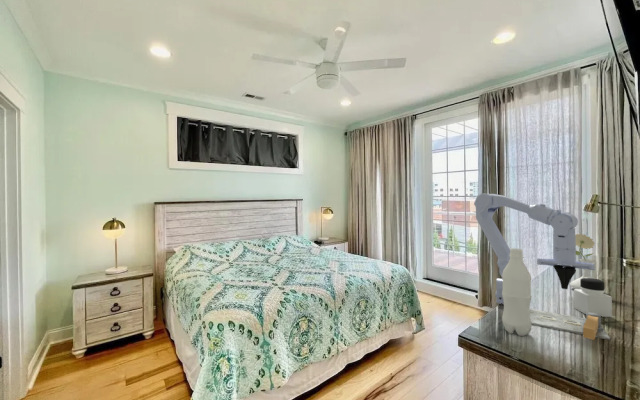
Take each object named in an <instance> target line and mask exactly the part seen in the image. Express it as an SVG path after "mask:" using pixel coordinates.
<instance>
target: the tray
mask: <svg viewBox="0 0 640 400" xmlns="http://www.w3.org/2000/svg"><path fill="white" fill-rule="evenodd" d="M529 311H530V319H531V326H538V327H542V328H543V327H544V328H548V329H552V330H553V329H554V330H558V331H562V332H568V333H572V334H577V335H582V336H583V327H584V324H585V322H586V318H585V317H579V316H574V315H569V314H563V313H556V312H551V311H545V310H539V309H533V308H530V309H529ZM595 338H597V339H604V340H608V341H610V340H611V337H610V336H609V334H608V333H607V332H606V331H605V327H604V326H602V325H601V327H598V329H597V333H596V336H595Z"/></svg>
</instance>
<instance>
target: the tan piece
mask: <svg viewBox="0 0 640 400" xmlns="http://www.w3.org/2000/svg"><path fill="white" fill-rule="evenodd" d="M585 317H586V322H585V324H584V327H583V335H582V337H583V338H586V339H588V340H591V341H592V340H593V341H595V339H596V337H595V336H596V333H597V329H598V327H601V326H602V317H601V315H599V314H597V313H592V312H587V313H586V314H585Z"/></svg>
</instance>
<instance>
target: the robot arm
mask: <svg viewBox="0 0 640 400" xmlns="http://www.w3.org/2000/svg"><path fill="white" fill-rule="evenodd" d="M473 205H474V206H475V219H476V221H477V223H478V225H479V227H480V228H481V229H482V232H483V234H484V235H485V237H486V239H487V241H488V243H489V244H490V246H491V248H492V249H493V251H494V253H495V256H496V257H497V262H496V264H497V266H498V269H499V270H498V271H499V275H500V276H501V278H496V288H495V289H496V291H495V298H496V300H495V301H496V304H501V303H502V304H501V305H504V303H503V302H504V300H503V296H502V291H503V276H502V273H503V270H504V269H505V267H506V266H507V264H508V263H509V261H510V257H509V255H510V249H511V248H510V247H509V244H508V243H507V241H506V239H505V238H504V237H503V234H502V233H501V231H500V229H499V227H498V226H497V224H496V223H495V221H494V219H493V216H494V214H495V213H496V212H497V210H498V209H500V207H506V208H509V209H512V210H516V211H519V212H522V213H524V214H527V216H528V217H529V219H530V220H531V219H532V220H534V221H537V222H540V223H543V224H546V225H548V226H551V227H552V229H553V237H552V239H553V240H552V242H553V243H552V244H553V249H552V252H553V253H552V254H553V255H552V256H553V257H552V258H540V257H537V258H536V264H537V265H538V266H541V265H542V266H551V267H552V266H553V269H554V271H555V273H556V274H557V277H558V279H559V283H560V288H561V289H563V290H568V289H569V286H570V285H569V284H570V283H571V280H572V278H573V277H574V275H575V274H576V273H577V269H578V270H579V269H581V270H583V269H589V270H590V271H595V264H594V262H593V263H584V262H581V261H577V260H576V257H577V255H576V251H577V245H576V236H575V235H576V227H577V226H578V223H579V221H578V218H577V217H576V215H574V214H573V213H570V212H562V210H561V209H558V208H557V209H555V208H551V207H547V205H546V204H544V203H540V204H539V203H536V204H532V205H531V204H527V203H525V202H522V201H520V200H517V199H514V198H511V197H509V196H507V195H506V196H505V195H503V194H498V193H480V194H479V195H477V196H476V198H475V200H474V204H473ZM526 268H527V269H528V267H527V266H526Z"/></svg>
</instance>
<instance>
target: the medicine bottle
mask: <svg viewBox="0 0 640 400" xmlns="http://www.w3.org/2000/svg"><path fill="white" fill-rule="evenodd" d="M580 288H581V289H574V288H573V308H574V309H575V310H577V311H578V312H581V313H582V314H584V315H586V313H587V312H592V313H597V314H599V315H601V316H602V317H601V318H612V317H613V297H612V296H610V295H608V294H606V293H605V292H604V288H605V282H604V281H603V280H601V279H598V278H594V277H592V278H581V279H580Z"/></svg>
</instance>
